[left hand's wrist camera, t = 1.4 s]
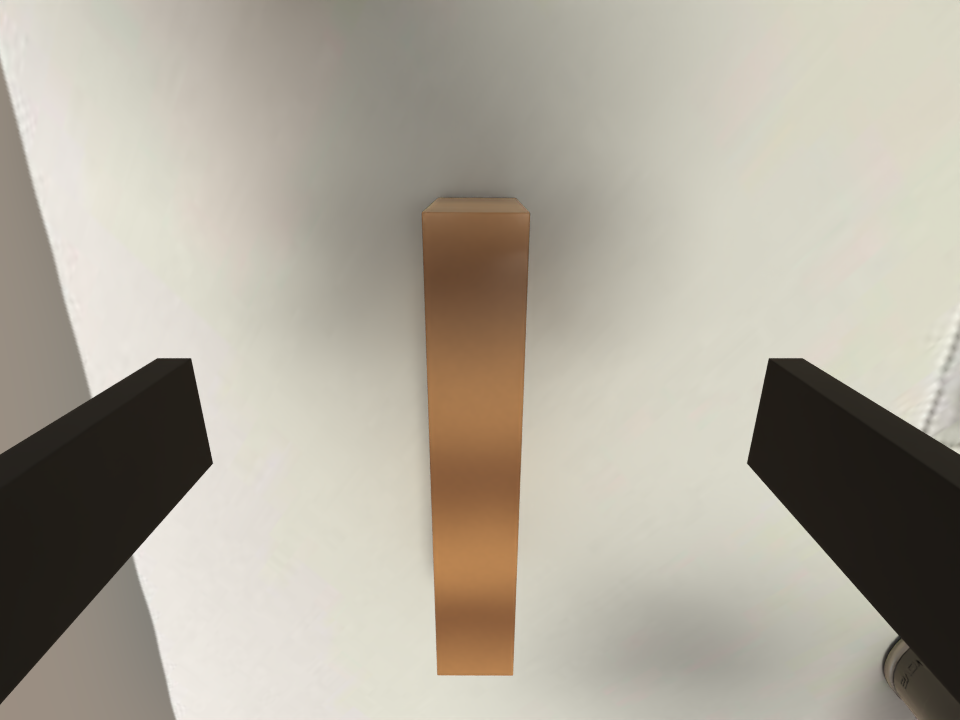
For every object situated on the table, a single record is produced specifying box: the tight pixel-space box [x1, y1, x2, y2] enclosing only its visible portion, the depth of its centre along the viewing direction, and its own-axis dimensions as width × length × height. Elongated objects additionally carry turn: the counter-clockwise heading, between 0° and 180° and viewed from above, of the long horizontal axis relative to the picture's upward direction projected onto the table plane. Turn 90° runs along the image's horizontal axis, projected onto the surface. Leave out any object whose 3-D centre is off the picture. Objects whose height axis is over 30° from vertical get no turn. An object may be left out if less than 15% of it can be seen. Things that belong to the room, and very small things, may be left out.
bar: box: [422, 198, 530, 675], centre depth 31 cm, size 27×4×9 cm, turn 0°
